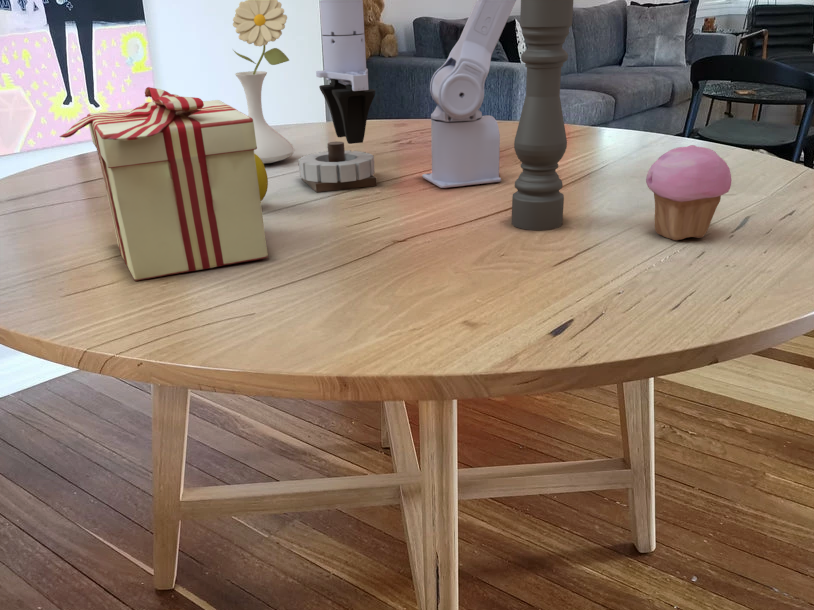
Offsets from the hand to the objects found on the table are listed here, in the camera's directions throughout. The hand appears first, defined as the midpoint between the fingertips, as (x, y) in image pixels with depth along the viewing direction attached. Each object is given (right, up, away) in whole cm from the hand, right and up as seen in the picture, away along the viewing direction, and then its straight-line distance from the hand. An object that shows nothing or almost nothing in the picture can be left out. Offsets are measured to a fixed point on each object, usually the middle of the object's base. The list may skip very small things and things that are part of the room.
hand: (349, 139), depth 117 cm
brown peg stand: (-2, -5, +5) cm, 7 cm away
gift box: (-17, -21, -25) cm, 37 cm away
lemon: (-13, -12, -7) cm, 19 cm away
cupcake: (+39, -19, -23) cm, 49 cm away
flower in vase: (-16, +3, +20) cm, 26 cm away
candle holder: (+24, -16, -16) cm, 33 cm away
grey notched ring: (-2, -3, +5) cm, 7 cm away
